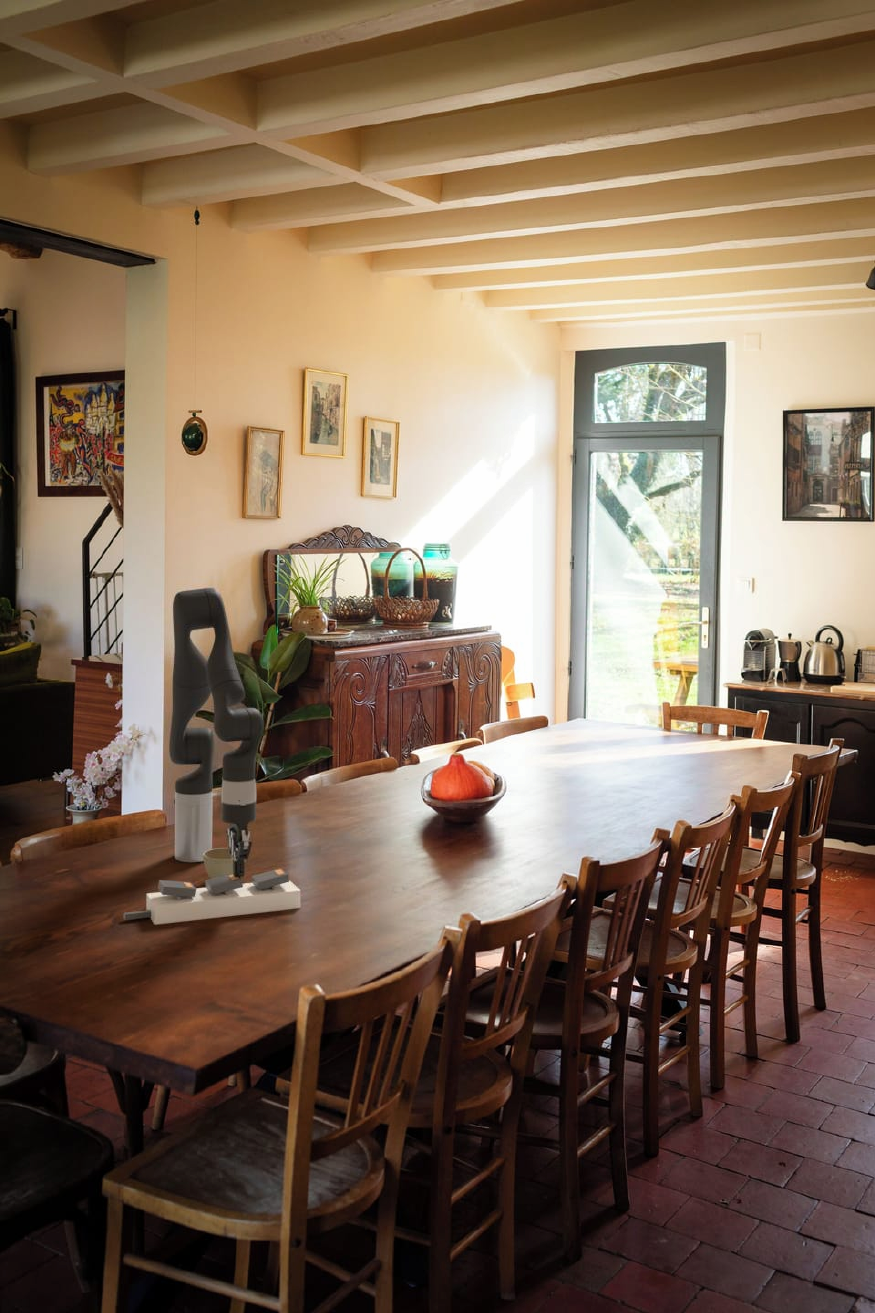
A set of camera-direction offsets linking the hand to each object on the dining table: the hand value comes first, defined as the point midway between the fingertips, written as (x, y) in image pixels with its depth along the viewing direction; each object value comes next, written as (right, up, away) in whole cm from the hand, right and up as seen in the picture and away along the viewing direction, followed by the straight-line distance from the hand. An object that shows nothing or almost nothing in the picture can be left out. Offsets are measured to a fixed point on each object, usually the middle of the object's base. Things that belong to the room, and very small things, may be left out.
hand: (238, 876), depth 257 cm
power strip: (-6, -7, -2) cm, 9 cm away
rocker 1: (-12, -2, -5) cm, 14 cm away
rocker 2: (-3, -2, -1) cm, 4 cm away
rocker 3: (+7, -2, +3) cm, 8 cm away
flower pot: (-7, -5, +19) cm, 21 cm away
